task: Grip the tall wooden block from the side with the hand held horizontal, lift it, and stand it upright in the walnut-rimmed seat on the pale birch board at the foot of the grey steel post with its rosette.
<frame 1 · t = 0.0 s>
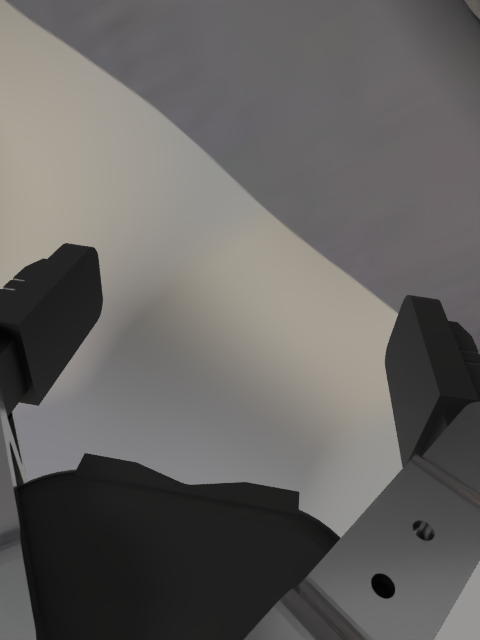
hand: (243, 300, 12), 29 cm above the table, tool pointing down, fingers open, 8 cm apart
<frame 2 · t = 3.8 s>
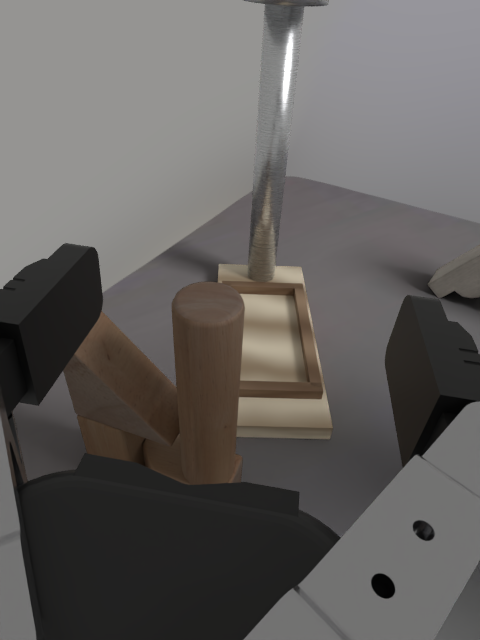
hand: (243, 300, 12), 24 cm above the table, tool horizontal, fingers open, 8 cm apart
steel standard: (259, 285, 55), on the table
seat board: (263, 340, 47), on the table
wooden block: (166, 481, 34), on the table
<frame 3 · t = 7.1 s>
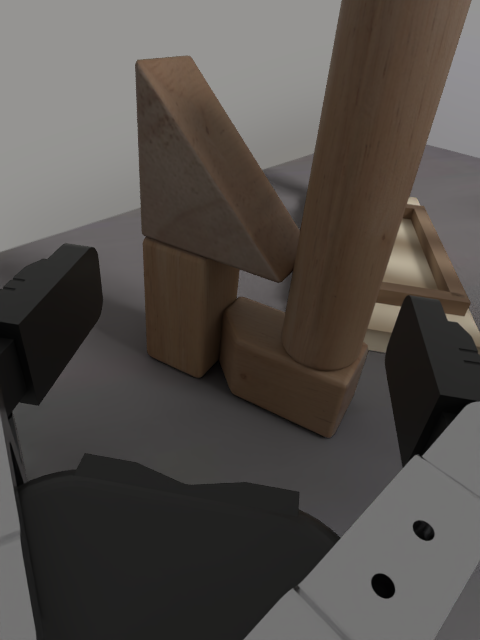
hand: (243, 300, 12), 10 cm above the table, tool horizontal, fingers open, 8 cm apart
seat board: (372, 259, 37), on the table
wooden block: (246, 379, 24), on the table
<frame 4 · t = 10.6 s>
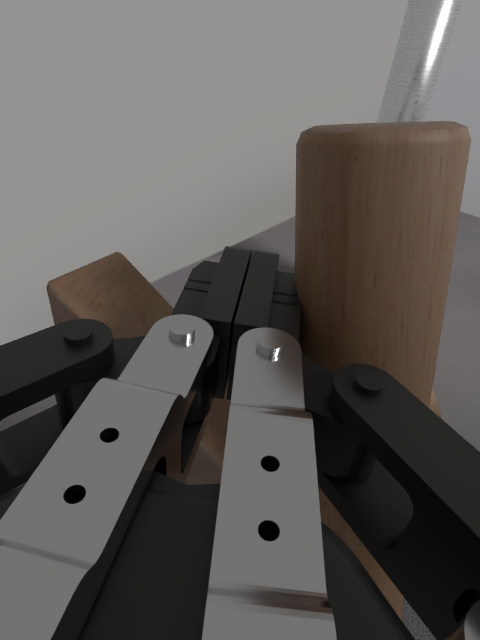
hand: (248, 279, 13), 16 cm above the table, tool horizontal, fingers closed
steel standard: (347, 299, 43), on the table
wooden block: (253, 619, 18), point 2 cm above the table, touching gripper
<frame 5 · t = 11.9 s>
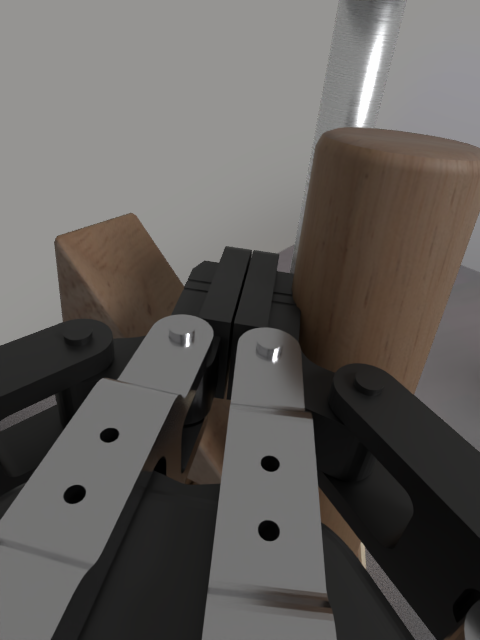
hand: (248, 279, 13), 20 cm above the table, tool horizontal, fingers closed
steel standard: (289, 384, 38), on the table
wooden block: (209, 576, 20), point 6 cm above the table, touching gripper
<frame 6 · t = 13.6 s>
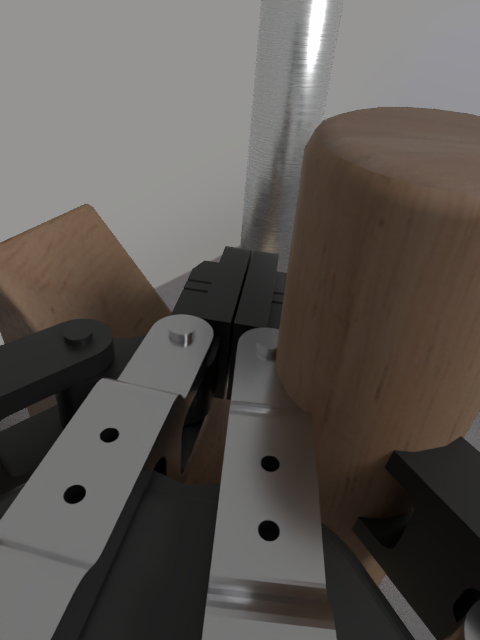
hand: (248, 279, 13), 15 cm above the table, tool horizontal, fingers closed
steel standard: (251, 392, 31), on the table
wooden block: (207, 588, 18), point 2 cm above the table, touching seat board
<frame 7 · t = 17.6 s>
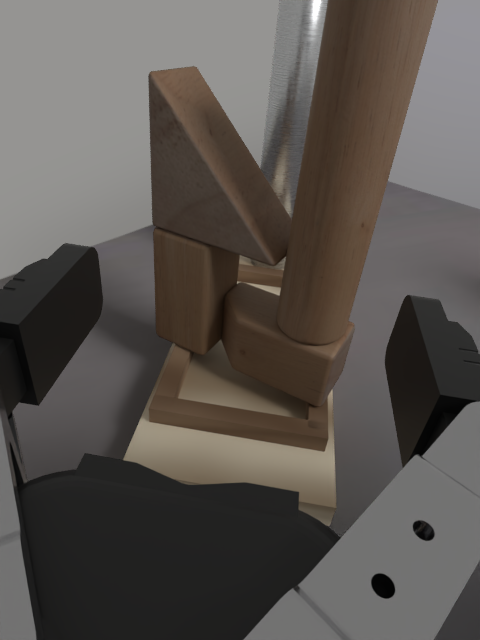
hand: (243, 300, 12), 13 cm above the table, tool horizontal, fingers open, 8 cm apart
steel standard: (266, 276, 39), on the table
seat board: (253, 348, 31), on the table
wooden block: (245, 357, 27), point 2 cm above the table, touching seat board
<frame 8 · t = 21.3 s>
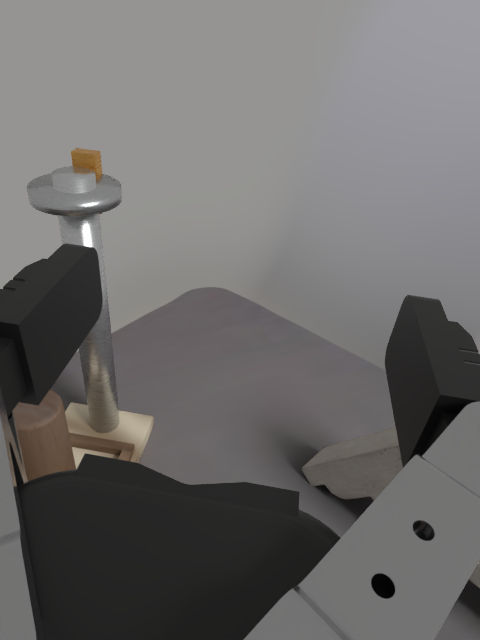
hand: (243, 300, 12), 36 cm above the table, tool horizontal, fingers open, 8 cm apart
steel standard: (106, 430, 53), on the table
seat board: (67, 509, 45), on the table
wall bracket: (471, 593, 42), on the table
wooden block: (42, 531, 40), point 2 cm above the table, touching seat board
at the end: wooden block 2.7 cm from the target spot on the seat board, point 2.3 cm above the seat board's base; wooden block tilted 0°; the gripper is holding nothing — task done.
